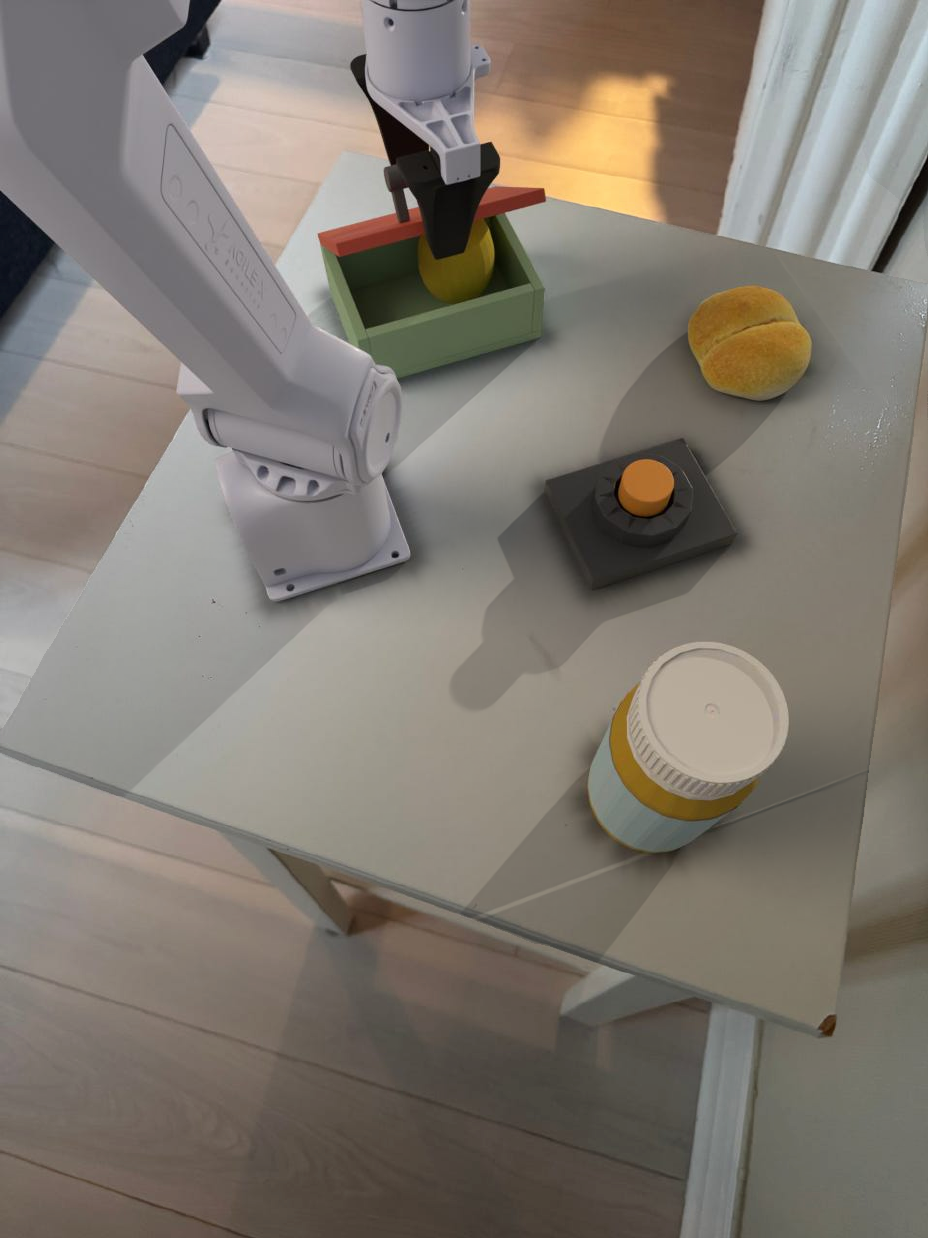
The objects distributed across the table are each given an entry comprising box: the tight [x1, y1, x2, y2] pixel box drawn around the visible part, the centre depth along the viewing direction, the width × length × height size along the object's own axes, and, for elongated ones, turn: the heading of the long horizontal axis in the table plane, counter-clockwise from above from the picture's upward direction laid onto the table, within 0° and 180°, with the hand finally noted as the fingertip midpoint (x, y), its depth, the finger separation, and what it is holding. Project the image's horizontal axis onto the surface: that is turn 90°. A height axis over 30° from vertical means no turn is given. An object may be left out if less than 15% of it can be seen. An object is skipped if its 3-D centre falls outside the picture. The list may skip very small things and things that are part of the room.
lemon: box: [418, 219, 495, 304], centre depth 60 cm, size 6×6×8 cm
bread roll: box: [687, 285, 813, 402], centre depth 59 cm, size 8×9×4 cm
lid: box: [317, 164, 547, 257], centre depth 55 cm, size 10×14×4 cm
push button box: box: [544, 437, 738, 591], centre depth 54 cm, size 10×8×3 cm
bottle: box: [586, 641, 790, 854], centre depth 41 cm, size 7×7×15 cm
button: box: [618, 459, 674, 517], centre depth 52 cm, size 3×3×2 cm
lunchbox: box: [319, 213, 546, 380], centre depth 61 cm, size 10×14×5 cm
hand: (428, 212), depth 54 cm, fingers open, 7 cm apart
